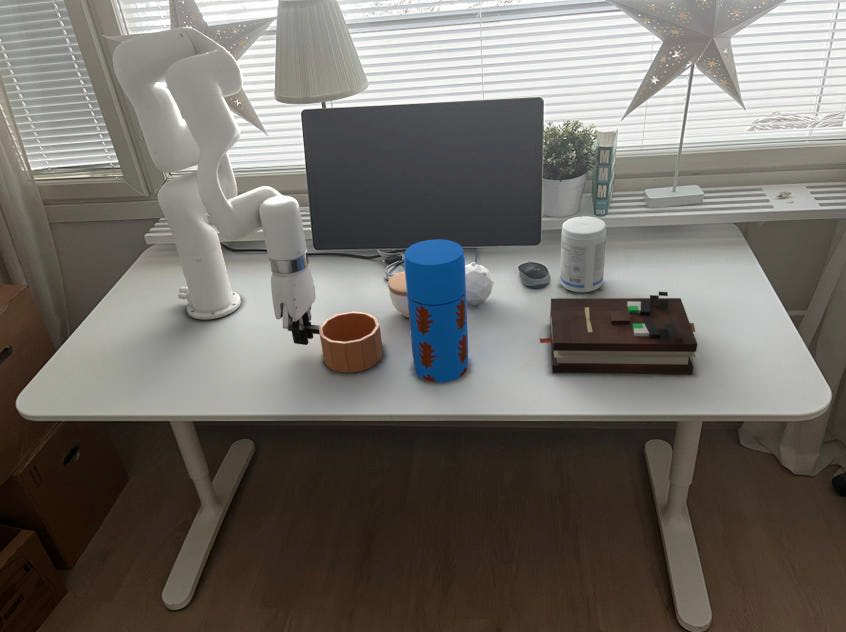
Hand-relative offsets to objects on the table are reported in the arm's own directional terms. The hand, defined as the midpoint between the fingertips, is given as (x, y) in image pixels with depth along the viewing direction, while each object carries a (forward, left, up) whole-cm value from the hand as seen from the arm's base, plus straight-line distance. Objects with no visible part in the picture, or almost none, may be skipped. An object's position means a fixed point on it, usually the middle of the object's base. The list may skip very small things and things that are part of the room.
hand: (303, 340), depth 148 cm
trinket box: (+18, +20, -3) cm, 27 cm away
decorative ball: (+30, +28, -3) cm, 41 cm away
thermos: (+30, 0, -3) cm, 30 cm away
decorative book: (+62, +13, -3) cm, 63 cm away
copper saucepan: (+7, 0, -2) cm, 7 cm away
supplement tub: (+52, +39, -3) cm, 65 cm away
